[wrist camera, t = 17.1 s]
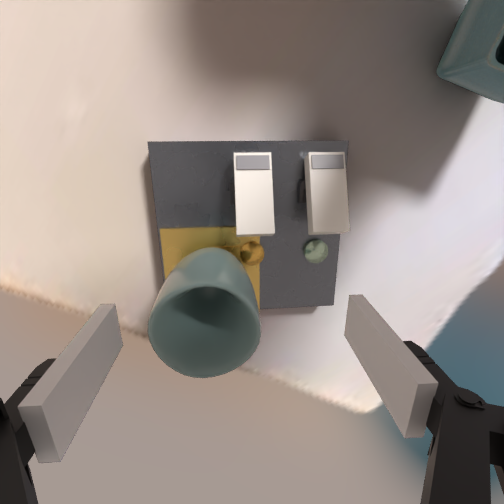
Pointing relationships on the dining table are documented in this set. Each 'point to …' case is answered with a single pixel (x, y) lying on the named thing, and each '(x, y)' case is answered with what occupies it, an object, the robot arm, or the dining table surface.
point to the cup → (205, 315)
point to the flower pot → (477, 50)
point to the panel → (224, 218)
